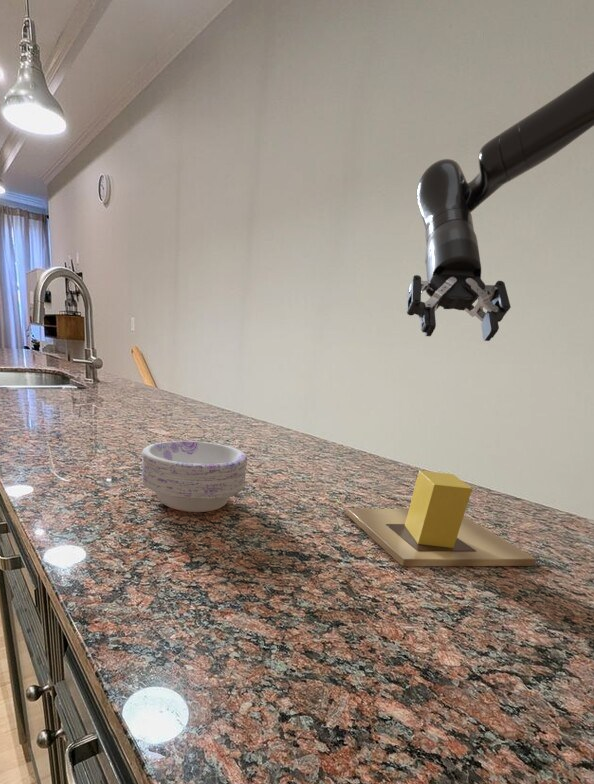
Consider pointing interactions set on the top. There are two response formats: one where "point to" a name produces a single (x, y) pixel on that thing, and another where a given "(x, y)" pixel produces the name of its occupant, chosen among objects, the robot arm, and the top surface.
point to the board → (468, 550)
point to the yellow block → (437, 508)
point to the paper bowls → (193, 474)
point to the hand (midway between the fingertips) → (460, 334)
